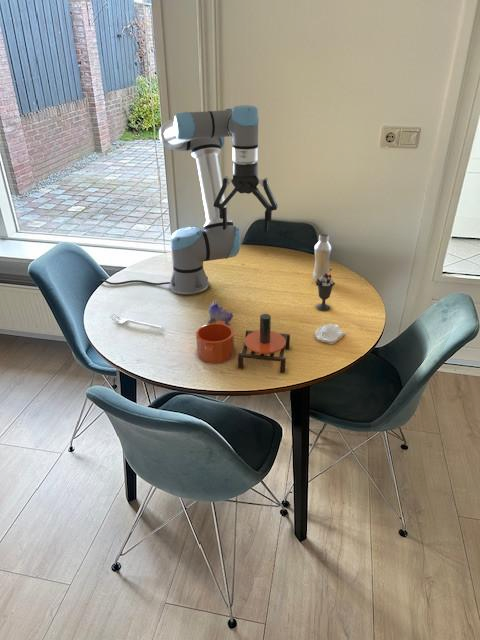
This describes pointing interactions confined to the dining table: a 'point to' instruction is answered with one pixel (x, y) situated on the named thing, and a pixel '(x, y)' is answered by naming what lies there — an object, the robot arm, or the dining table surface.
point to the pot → (215, 342)
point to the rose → (329, 333)
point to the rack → (262, 356)
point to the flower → (219, 314)
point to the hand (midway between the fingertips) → (245, 229)
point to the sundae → (324, 290)
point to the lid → (265, 338)
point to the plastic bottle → (321, 257)
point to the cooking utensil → (131, 321)
